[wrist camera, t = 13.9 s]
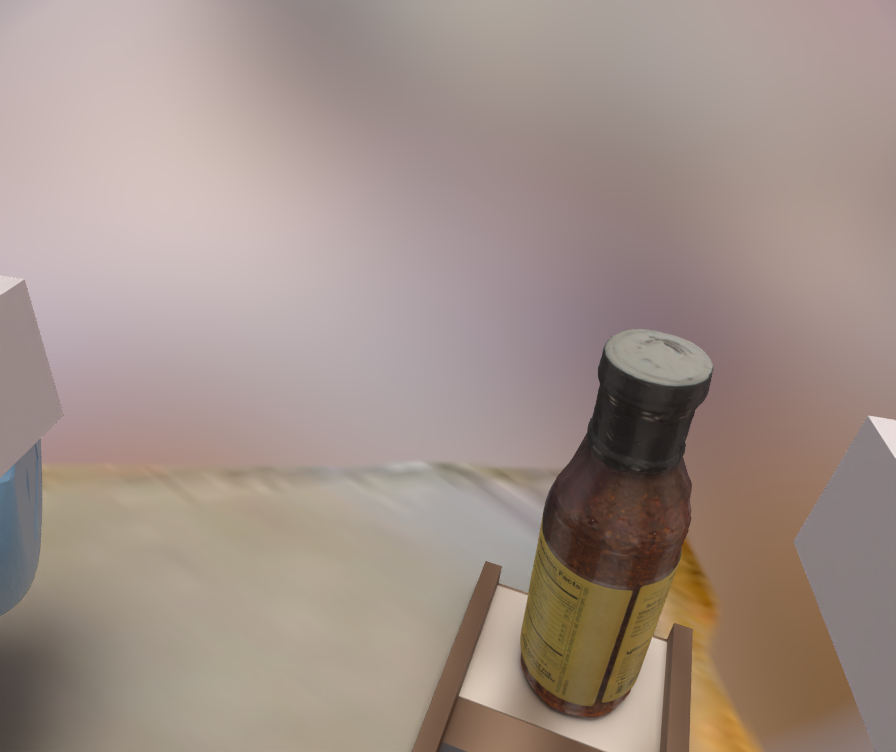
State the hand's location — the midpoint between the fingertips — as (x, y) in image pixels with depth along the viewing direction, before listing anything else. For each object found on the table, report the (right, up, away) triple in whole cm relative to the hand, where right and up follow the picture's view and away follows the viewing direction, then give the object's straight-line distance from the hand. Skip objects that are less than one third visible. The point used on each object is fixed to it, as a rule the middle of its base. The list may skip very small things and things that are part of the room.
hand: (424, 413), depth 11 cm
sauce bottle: (+7, -15, +25) cm, 30 cm away
